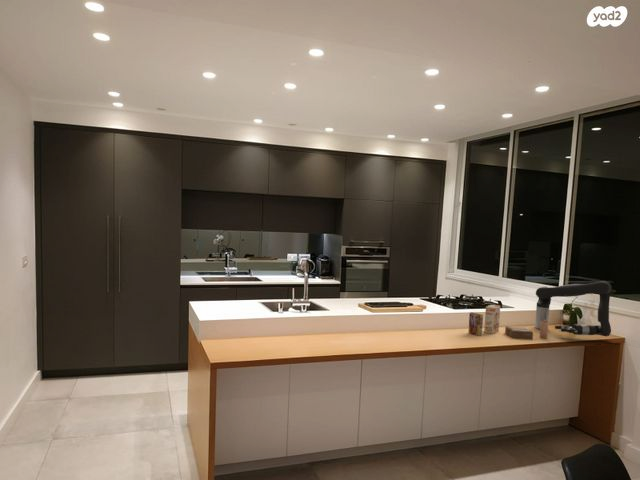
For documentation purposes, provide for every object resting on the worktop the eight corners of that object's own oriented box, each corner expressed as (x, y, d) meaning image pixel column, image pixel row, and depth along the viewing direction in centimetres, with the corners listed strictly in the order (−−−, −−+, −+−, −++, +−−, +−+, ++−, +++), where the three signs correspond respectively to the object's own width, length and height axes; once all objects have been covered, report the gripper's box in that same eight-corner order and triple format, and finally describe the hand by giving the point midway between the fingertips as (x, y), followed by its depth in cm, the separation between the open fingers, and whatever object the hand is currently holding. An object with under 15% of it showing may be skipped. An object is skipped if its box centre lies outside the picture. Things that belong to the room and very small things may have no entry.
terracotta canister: (538, 336, 328) (539, 319, 328) (545, 336, 328) (546, 319, 328) (541, 338, 323) (542, 320, 323) (548, 338, 323) (549, 321, 323)
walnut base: (505, 333, 333) (505, 326, 333) (523, 334, 333) (524, 327, 333) (512, 338, 319) (513, 330, 319) (532, 339, 319) (533, 331, 319)
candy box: (482, 335, 323) (483, 314, 323) (479, 335, 321) (480, 314, 320) (471, 332, 330) (472, 312, 330) (468, 333, 328) (469, 312, 327)
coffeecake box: (493, 334, 328) (495, 308, 328) (483, 332, 332) (485, 306, 332) (499, 331, 340) (500, 305, 339) (489, 329, 344) (491, 304, 344)
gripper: (575, 322, 332) (553, 321, 332) (586, 326, 318) (563, 325, 318) (574, 332, 333) (552, 331, 333) (585, 337, 318) (562, 336, 318)
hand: (558, 328), depth 325 cm, fingers open, 8 cm apart
